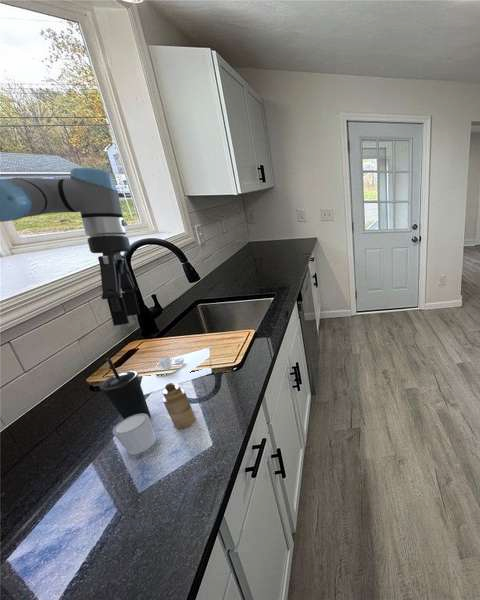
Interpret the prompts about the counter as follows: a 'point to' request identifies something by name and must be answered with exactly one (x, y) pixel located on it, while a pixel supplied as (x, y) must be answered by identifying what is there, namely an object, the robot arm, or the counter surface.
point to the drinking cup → (125, 392)
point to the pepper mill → (178, 406)
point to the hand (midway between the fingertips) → (128, 319)
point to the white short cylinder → (135, 433)
